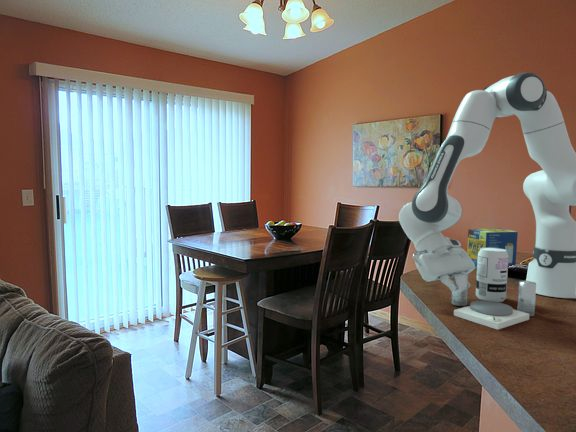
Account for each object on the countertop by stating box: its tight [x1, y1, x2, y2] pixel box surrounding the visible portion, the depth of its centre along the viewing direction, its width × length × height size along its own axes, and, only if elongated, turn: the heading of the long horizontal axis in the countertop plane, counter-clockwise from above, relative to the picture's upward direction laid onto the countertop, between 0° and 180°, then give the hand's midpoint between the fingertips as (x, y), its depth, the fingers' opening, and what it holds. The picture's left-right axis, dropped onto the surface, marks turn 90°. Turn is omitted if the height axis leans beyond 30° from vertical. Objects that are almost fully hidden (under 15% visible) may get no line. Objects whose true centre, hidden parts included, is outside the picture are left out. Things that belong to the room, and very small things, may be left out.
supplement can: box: [475, 248, 509, 303], centre depth 124 cm, size 8×8×15 cm
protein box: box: [466, 227, 519, 270], centre depth 168 cm, size 10×15×16 cm
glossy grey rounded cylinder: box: [451, 273, 469, 307], centre depth 118 cm, size 4×4×8 cm
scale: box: [453, 300, 530, 331], centre depth 108 cm, size 14×12×2 cm
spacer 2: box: [516, 280, 537, 317], centre depth 111 cm, size 4×4×8 cm
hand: (461, 288), depth 117 cm, fingers closed on glossy grey rounded cylinder, 4 cm apart
